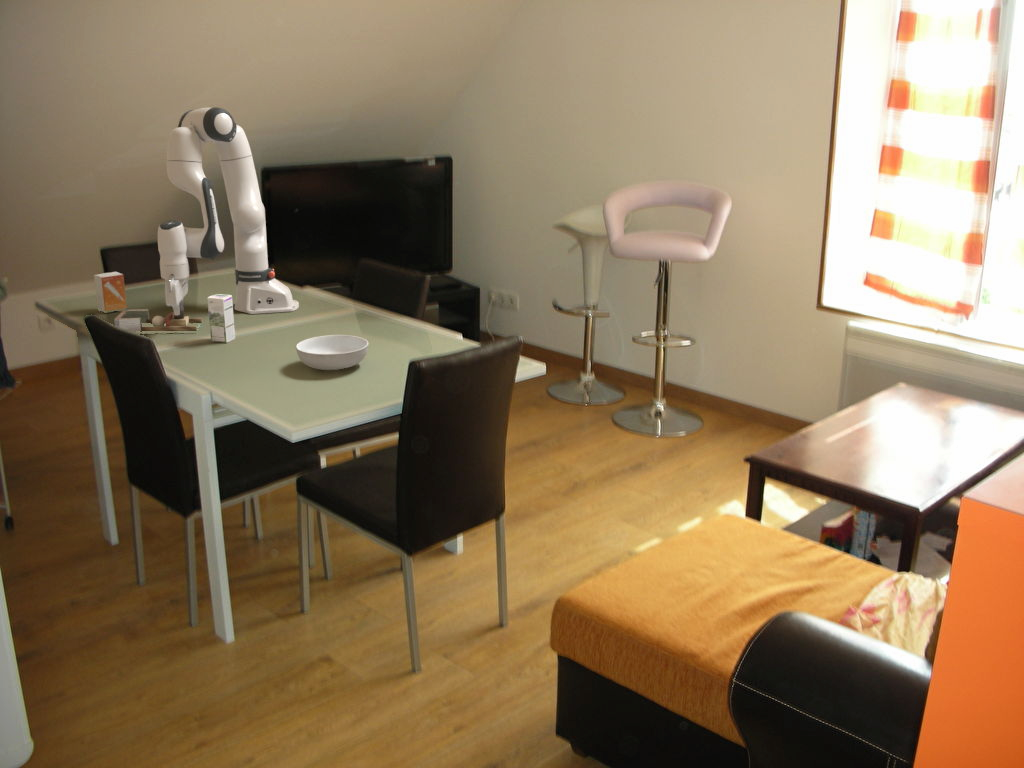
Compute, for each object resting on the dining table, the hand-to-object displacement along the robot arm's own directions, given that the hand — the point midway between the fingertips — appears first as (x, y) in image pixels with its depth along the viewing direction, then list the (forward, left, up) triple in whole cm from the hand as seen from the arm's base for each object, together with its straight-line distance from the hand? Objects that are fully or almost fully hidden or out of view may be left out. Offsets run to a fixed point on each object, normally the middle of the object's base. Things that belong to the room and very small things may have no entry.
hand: (178, 313), depth 344 cm
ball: (+7, 0, -3) cm, 7 cm away
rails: (+3, 0, -5) cm, 6 cm away
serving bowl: (-52, +47, -5) cm, 71 cm away
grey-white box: (+15, 0, -5) cm, 16 cm away
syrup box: (-16, +16, -5) cm, 23 cm away
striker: (0, 0, -5) cm, 5 cm away
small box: (+28, -26, -5) cm, 38 cm away
